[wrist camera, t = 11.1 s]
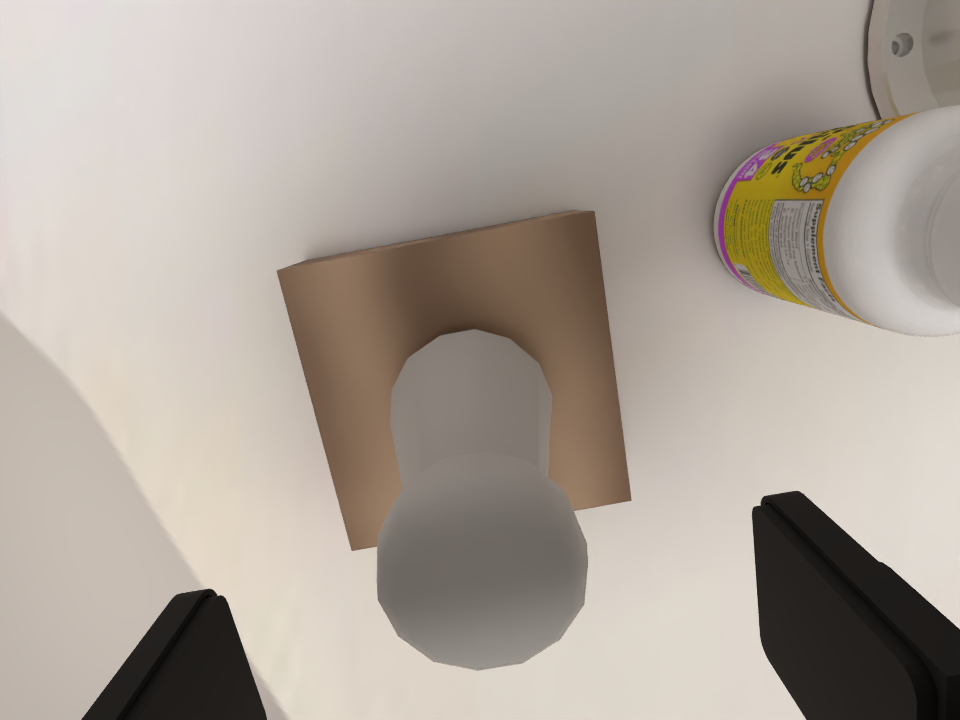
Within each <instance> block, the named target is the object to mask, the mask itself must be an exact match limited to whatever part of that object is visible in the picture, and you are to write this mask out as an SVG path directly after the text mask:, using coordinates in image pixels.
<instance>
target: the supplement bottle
mask: <svg viewBox="0 0 960 720" xmlns="http://www.w3.org/2000/svg"><path fill="white" fill-rule="evenodd" d="M713 229H714V237H715V242H716V246H717V250H718V253H719V255H720V257H721V259H722V261H723V263H724V265H725V266H726V268H727V269H728V270H729V272H730V273H731V274H732V275H733V276H734V277H735V278H736V279H737V280H738V281H740V282H741V283H743V284H744V285H746V286H747V287H749V288H751V289H753V290H756V291H758V292H761V293H763V294H766V295H769V296H773V297H776V298H780V299H783V300H786V301H790V302H793V303H797V304H800V305H804V306H807V307H811V308H815V309H818V310H821V311H825V312H829V313H832V314H835V315H839V316H842V317H846V318H849V319H852V320H856V321H859V322H863V323H866V324H869V325H873V326H875V327H879V328H882V329H886V330H889V331H893V332H897V333H900V334H905V335H912V336H924V337H936V336H947V335H953V334H958V333H960V105H953V106H947V107H941V108H935V109H931V110H926V111H922V112H917V113H912V114H907V115H902V116H897V117H892V118H887V119H881V120H876V121H871V122H866V123H861V124H857V125H852V126H847V127H842V128H836V129H832V130H827V131H822V132H817V133H812V134H807V135H803V136H798V137H793V138H789V139H786V140H782V141H778V142H776V143H773V144H770V145H768V146H766V147H764V148H762V149H760V150H759V151H757V152H755V153H754V154H752V155H751V156H750V157H749V158H747V159H746V160H745V161H744V162H743V163H742V164H741V165H740V166H739V167H738V168H737V169H736V170H735V171H734V173H733V174H732V175H731V176H730V178H729V179H728V181H727V182H726V184H725V186H724V188H723V190H722V192H721V194H720V197H719V199H718V202H717V205H716V210H715V214H714V228H713Z"/></svg>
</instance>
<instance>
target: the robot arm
mask: <svg viewBox="0 0 960 720" xmlns="http://www.w3.org/2000/svg"><path fill="white" fill-rule="evenodd" d="M868 68H869V75H870V82H871V88H872V93H873V96H874V99H875V102H876V105H877V107H878V110H879V113H880V116H881V119H887V118H892V117H897V116H902V115H907V114H912V113H917V112H922V111H926V110H931V109H935V108H941V107H947V106H953V105H960V0H875V1H874V6H873V11H872V16H871V21H870V26H869V32H868ZM752 521H753V536H754V551H755V566H756V581H757V596H758V611H759V626H760V638H761V642H762V646H763V649H764V652H765V654H766V656H767V658H768V660H769V662H770V663H771V665H772V666H773V668H774V670H775V671H776V673H777V674H778V676H779V677H780V679H781V681H782V682H783V684H784V685H785V687H786V688H787V690H788V691H789V693H790V695H791V696H792V698H793V699H794V701H795V702H796V704H797V706H798V707H799V709H800V710H801V712H802V713H803V715H804V717H805V718H806V720H960V629H959V628H958V627H956V626H955V625H954V624H953V623H952V622H951V621H950V620H949V619H947V618H946V617H945V616H944V615H943V614H942V613H941V612H940V611H938V610H937V609H936V608H935V607H934V606H933V605H932V604H930V603H929V602H928V601H927V600H926V599H925V598H924V597H923V596H921V595H920V594H919V593H918V592H917V591H916V590H915V589H914V588H912V587H911V586H910V585H909V584H908V583H907V582H906V581H905V580H903V579H902V578H901V577H900V576H899V575H898V574H897V573H896V572H894V571H893V570H892V569H891V568H890V567H888V566H887V565H885V564H884V563H882V562H878V561H877V560H876V559H875V558H874V557H873V556H872V555H871V554H870V553H868V552H867V551H866V550H865V549H864V548H863V547H862V546H861V545H860V544H858V543H857V542H856V541H855V540H854V539H853V538H852V537H851V536H849V535H848V534H847V533H846V532H845V531H844V530H843V529H842V528H841V527H839V526H838V525H837V524H836V523H835V522H834V521H833V520H832V519H831V518H829V517H828V516H827V515H826V514H825V513H824V512H823V511H822V510H821V509H819V508H818V507H817V506H816V505H815V504H814V503H813V502H812V501H810V500H809V499H808V498H807V497H806V496H805V495H804V494H803V493H801V492H799V491H792V492H786V493H780V494H774V495H768V496H764V497H763V498H762V500H761V506H755V507H754V508H753V510H752ZM82 720H267V717H266V713H265V710H264V707H263V704H262V701H261V698H260V695H259V692H258V689H257V686H256V684H255V681H254V678H253V675H252V672H251V669H250V666H249V663H248V660H247V657H246V655H245V652H244V649H243V646H242V643H241V640H240V637H239V634H238V631H237V628H236V625H235V623H234V620H233V617H232V614H231V611H230V608H229V605H228V602H227V600H226V598H225V597H224V596H221V595H220V596H217V594H216V592H215V591H214V590H212V589H204V590H198V591H192V592H187V593H181V594H177V595H176V596H174V597H173V598H172V600H171V601H170V602H169V604H168V605H167V606H166V608H165V609H164V610H163V612H162V613H161V614H160V616H159V617H158V618H157V620H156V621H155V622H154V624H153V625H152V626H151V628H150V629H149V630H148V632H147V633H146V634H145V636H144V637H143V638H142V640H141V641H140V642H139V644H138V645H137V646H136V648H135V649H134V650H133V652H132V653H131V654H130V656H129V657H128V658H127V660H126V661H125V662H124V664H123V665H122V666H121V668H120V669H119V670H118V672H117V673H116V674H115V676H114V677H113V678H112V680H111V681H110V682H109V684H108V685H107V686H106V688H105V689H104V690H103V692H102V693H101V694H100V696H99V697H98V698H97V700H96V701H95V702H94V704H93V705H92V706H91V708H90V709H89V710H88V712H87V713H86V714H85V716H84V717H83V718H82Z"/></svg>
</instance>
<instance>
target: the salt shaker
mask: <svg viewBox="0 0 960 720" xmlns="http://www.w3.org/2000/svg"><path fill="white" fill-rule="evenodd" d="M551 409H552V394H551V391H550V389H549V386H548V384H547V381H546V379H545V376H544V374H543V372H542V369H541V367H540V364H539V363H538V362H537V361H536V360H534V359H533V358H532V357H531V356H530V355H529V354H527V353H526V352H525V351H524V350H523V349H522V348H521V347H519V346H518V345H517V344H516V343H515V342H514V341H512V340H511V339H510V338H506V337H503V336H499V335H495V334H492V333H488V332H484V331H481V330H477V329H472V330H467V331H461V332H456V333H451V334H445V335H440V336H439V337H437V338H436V339H434V340H433V341H431V342H430V343H429V344H427V345H426V346H424V347H423V348H421V349H420V350H419V351H417V352H416V353H414V354H413V355H411V356H410V357H409V358H407V360H406V362H405V364H404V366H403V368H402V370H401V372H400V374H399V376H398V378H397V380H396V382H395V384H394V386H393V388H392V390H391V416H390V427H391V432H392V437H393V442H394V447H395V453H396V458H397V463H398V468H399V473H400V478H401V483H402V489H401V491H400V492H399V494H398V496H397V498H396V500H395V502H394V504H393V505H392V507H391V509H390V511H389V513H388V515H387V517H386V518H385V520H384V522H383V525H382V528H381V530H380V533H379V536H378V544H377V592H378V601H379V603H380V604H381V606H382V608H383V610H384V612H385V613H386V615H387V617H388V619H389V620H390V622H391V624H392V626H393V628H394V629H395V631H396V633H397V635H398V636H399V637H400V638H401V639H403V640H404V641H406V642H407V643H408V644H410V645H411V646H413V647H414V648H415V649H417V650H418V651H419V652H421V653H422V654H424V655H425V656H426V657H428V658H429V659H431V660H432V661H433V662H438V663H443V664H448V665H453V666H458V667H463V668H468V669H473V670H484V669H490V668H496V667H503V666H509V665H515V664H521V663H524V662H525V661H527V660H529V659H530V658H532V657H533V656H535V655H536V654H538V653H540V652H541V651H543V650H544V649H546V648H547V647H549V646H551V645H552V644H554V643H555V642H557V641H558V640H560V639H561V637H562V636H563V634H564V633H565V631H566V630H567V629H568V627H569V626H570V624H571V623H572V621H573V620H574V618H575V617H576V615H577V614H578V612H579V611H580V610H581V608H582V607H583V605H584V600H585V589H586V579H587V568H588V556H587V543H586V540H585V538H584V536H583V533H582V531H581V528H580V526H579V523H578V521H577V518H576V516H575V514H574V511H573V509H572V506H571V504H570V502H569V500H568V497H567V495H566V493H565V491H564V489H562V488H561V487H560V486H559V485H557V484H556V483H555V482H554V481H552V480H551V479H550V478H549V477H548V469H549V440H550V422H551Z"/></svg>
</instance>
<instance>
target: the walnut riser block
mask: <svg viewBox="0 0 960 720" xmlns="http://www.w3.org/2000/svg"><path fill="white" fill-rule="evenodd" d="M277 274H278V278H279V281H280V285H281V289H282V293H283V296H284V300H285V304H286V307H287V311H288V315H289V319H290V322H291V326H292V330H293V334H294V337H295V341H296V345H297V348H298V352H299V356H300V360H301V363H302V367H303V371H304V375H305V378H306V382H307V386H308V390H309V393H310V397H311V401H312V404H313V408H314V412H315V416H316V419H317V423H318V427H319V431H320V434H321V438H322V442H323V445H324V449H325V453H326V457H327V460H328V464H329V468H330V472H331V475H332V479H333V483H334V486H335V490H336V494H337V498H338V501H339V505H340V509H341V513H342V516H343V520H344V524H345V527H346V531H347V535H348V539H349V542H350V546H351V550H352V551H355V550H360V549H366V548H371V547H377V544H378V536H379V533H380V530H381V528H382V525H383V522H384V520H385V518H386V517H387V515H388V513H389V511H390V509H391V507H392V505H393V504H394V502H395V500H396V498H397V496H398V494H399V492H400V491H401V489H402V483H401V478H400V473H399V468H398V463H397V458H396V453H395V447H394V442H393V437H392V432H391V427H390V416H391V390H392V388H393V386H394V384H395V382H396V380H397V378H398V376H399V374H400V372H401V370H402V368H403V366H404V364H405V362H406V360H407V358H409V357H410V356H411V355H413V354H414V353H416V352H417V351H419V350H420V349H421V348H423V347H424V346H426V345H427V344H429V343H430V342H431V341H433V340H434V339H436V338H437V337H439V336H440V335H445V334H451V333H456V332H461V331H467V330H472V329H477V330H481V331H484V332H488V333H492V334H495V335H499V336H503V337H506V338H510V339H511V340H512V341H514V342H515V343H516V344H517V345H518V346H519V347H521V348H522V349H523V350H524V351H525V352H526V353H527V354H529V355H530V356H531V357H532V358H533V359H534V360H536V361H537V362H538V363H539V364H540V367H541V369H542V372H543V374H544V376H545V379H546V381H547V384H548V386H549V389H550V391H551V394H552V409H551V422H550V440H549V469H548V477H549V478H550V479H551V480H552V481H554V482H555V483H556V484H557V485H559V486H560V487H561V488H562V489H564V491H565V493H566V495H567V497H568V500H569V502H570V504H571V506H572V509H573V511H576V510H582V509H588V508H593V507H599V506H604V505H610V504H615V503H621V502H626V501H631V493H630V485H629V477H628V469H627V462H626V454H625V446H624V438H623V430H622V423H621V415H620V407H619V399H618V391H617V384H616V376H615V368H614V360H613V352H612V345H611V337H610V329H609V321H608V313H607V306H606V298H605V290H604V282H603V274H602V267H601V259H600V251H599V243H598V236H597V228H596V220H595V212H594V211H575V210H574V211H569V212H563V213H558V214H553V215H547V216H542V217H537V218H531V219H526V220H521V221H515V222H510V223H505V224H499V225H494V226H489V227H483V228H478V229H473V230H467V231H462V232H457V233H451V234H446V235H441V236H435V237H430V238H425V239H419V240H414V241H409V242H403V243H398V244H393V245H387V246H382V247H377V248H371V249H366V250H361V251H355V252H350V253H345V254H339V255H334V256H329V257H323V258H318V259H313V260H307V261H303V262H300V263H297V264H294V265H292V266H289V267H286V268H283V269H280V270H277Z"/></svg>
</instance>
